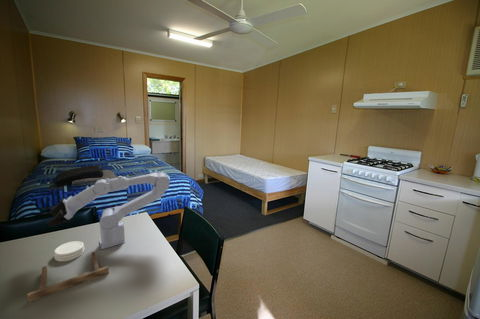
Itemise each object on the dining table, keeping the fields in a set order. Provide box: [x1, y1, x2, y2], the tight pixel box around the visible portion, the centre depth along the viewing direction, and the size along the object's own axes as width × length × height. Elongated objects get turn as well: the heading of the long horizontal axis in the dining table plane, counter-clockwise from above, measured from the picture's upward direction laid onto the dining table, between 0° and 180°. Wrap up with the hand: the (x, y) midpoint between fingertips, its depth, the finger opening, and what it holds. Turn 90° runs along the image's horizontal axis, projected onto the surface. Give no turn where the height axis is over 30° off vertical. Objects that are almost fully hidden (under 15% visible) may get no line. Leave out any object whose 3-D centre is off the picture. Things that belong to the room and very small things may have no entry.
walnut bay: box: [26, 251, 110, 303], centre depth 79 cm, size 22×14×2 cm, turn 130°
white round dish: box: [53, 240, 85, 262], centre depth 91 cm, size 10×10×4 cm
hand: (50, 219), depth 88 cm, fingers open, 7 cm apart
